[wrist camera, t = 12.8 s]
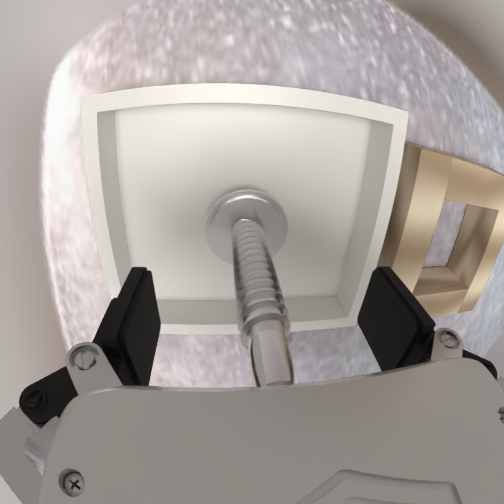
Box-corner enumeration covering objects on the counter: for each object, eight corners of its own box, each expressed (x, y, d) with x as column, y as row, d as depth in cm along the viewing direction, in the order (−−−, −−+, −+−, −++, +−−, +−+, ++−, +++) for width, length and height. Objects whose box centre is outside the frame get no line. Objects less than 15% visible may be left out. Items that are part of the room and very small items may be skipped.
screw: (232, 261, 20) (191, 207, 17) (293, 227, 19) (257, 166, 16) (249, 446, 8) (151, 394, 6) (376, 398, 7) (334, 317, 5)
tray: (341, 298, 24) (355, 325, 20) (131, 302, 22) (121, 331, 18) (379, 108, 16) (408, 112, 13) (105, 97, 14) (80, 97, 11)
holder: (453, 287, 25) (472, 309, 22) (351, 298, 24) (368, 328, 20) (492, 169, 18) (520, 183, 15) (388, 137, 17) (421, 148, 13)
